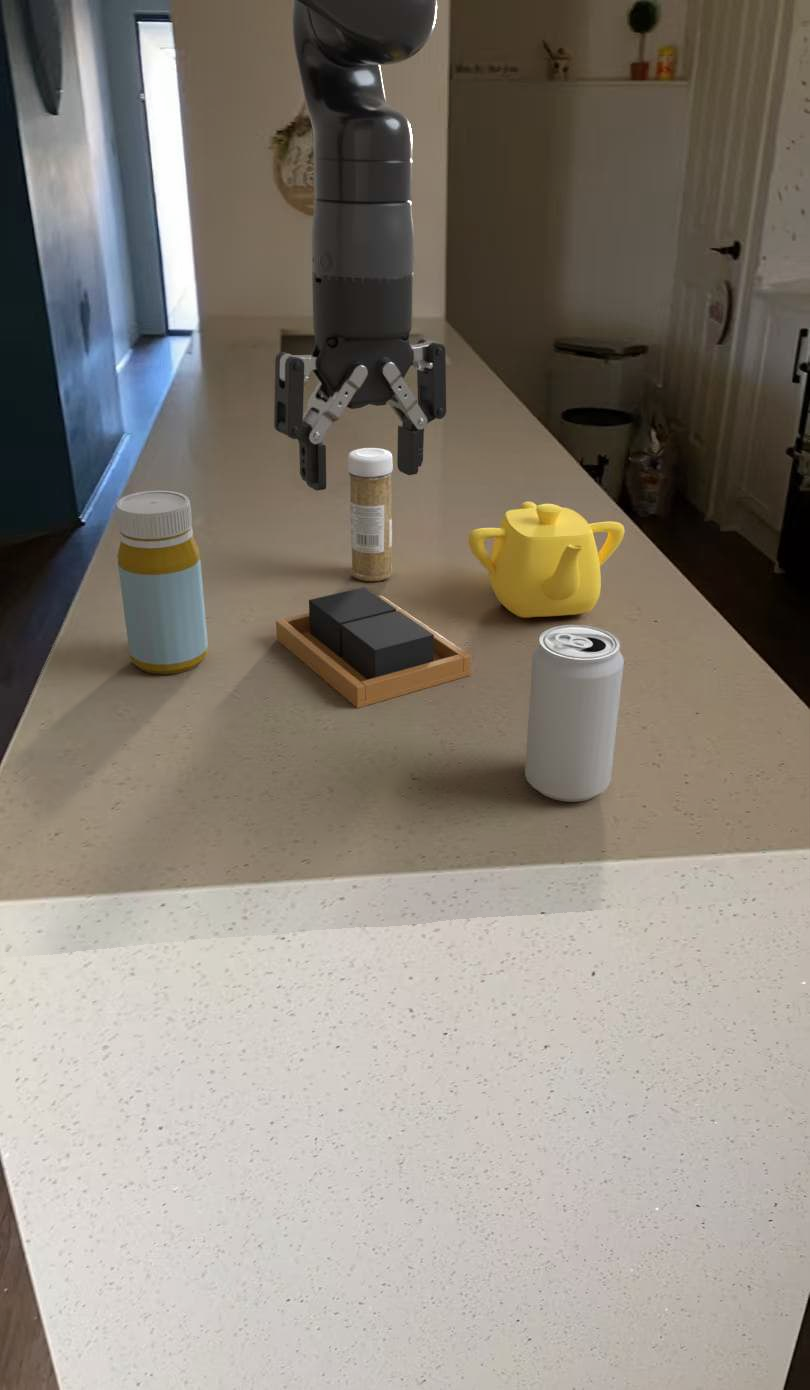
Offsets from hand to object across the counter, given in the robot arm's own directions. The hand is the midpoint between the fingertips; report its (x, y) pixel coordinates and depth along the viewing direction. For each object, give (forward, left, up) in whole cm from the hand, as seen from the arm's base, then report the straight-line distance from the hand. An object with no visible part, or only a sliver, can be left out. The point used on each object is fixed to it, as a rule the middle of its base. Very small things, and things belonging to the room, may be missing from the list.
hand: (362, 480), depth 88 cm
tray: (+2, +3, -18) cm, 18 cm away
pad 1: (+3, +7, -18) cm, 19 cm away
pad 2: (+2, 0, -18) cm, 18 cm away
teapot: (+23, +4, -18) cm, 30 cm away
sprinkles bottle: (+12, +20, -18) cm, 30 cm away
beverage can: (+4, -23, -18) cm, 29 cm away
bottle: (-14, +12, -18) cm, 26 cm away
